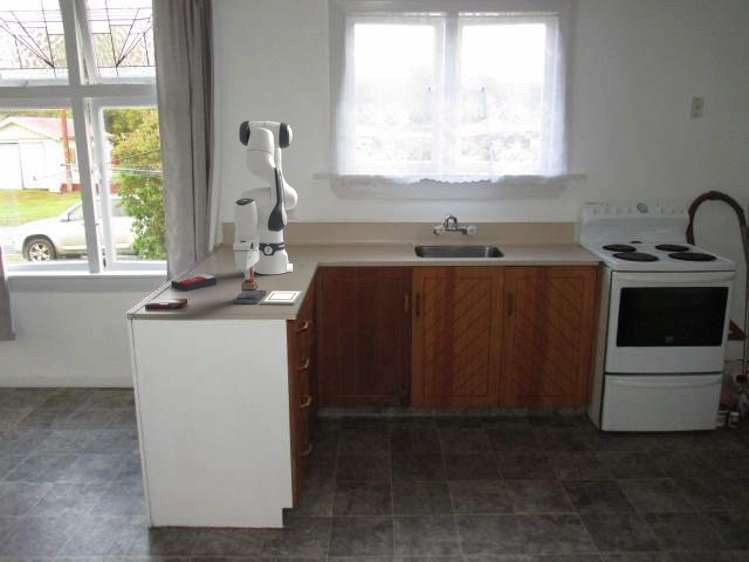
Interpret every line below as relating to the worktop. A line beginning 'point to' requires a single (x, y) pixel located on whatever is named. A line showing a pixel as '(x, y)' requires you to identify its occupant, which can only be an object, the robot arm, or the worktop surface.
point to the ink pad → (249, 297)
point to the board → (281, 298)
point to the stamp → (250, 282)
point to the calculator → (194, 282)
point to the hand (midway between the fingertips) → (249, 277)
